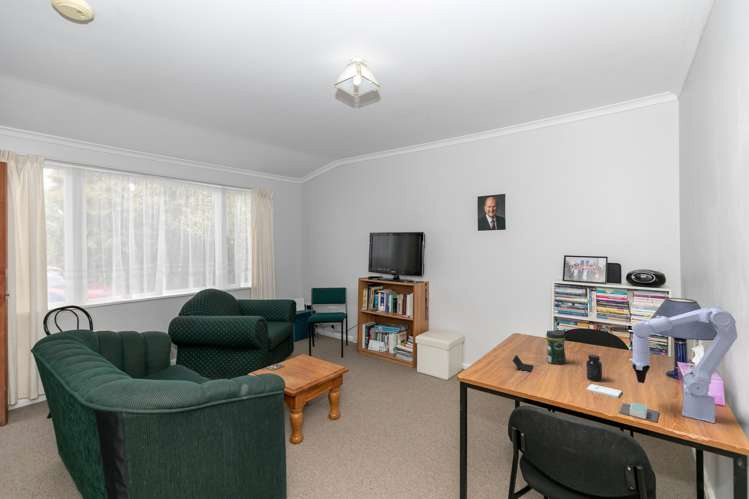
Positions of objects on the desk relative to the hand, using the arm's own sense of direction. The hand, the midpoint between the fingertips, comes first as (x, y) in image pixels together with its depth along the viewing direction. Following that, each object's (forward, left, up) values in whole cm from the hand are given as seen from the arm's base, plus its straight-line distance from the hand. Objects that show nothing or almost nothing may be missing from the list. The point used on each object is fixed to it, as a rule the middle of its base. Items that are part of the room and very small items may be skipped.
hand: (641, 382), depth 150 cm
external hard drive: (+14, -7, -11) cm, 19 cm away
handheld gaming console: (+54, -15, -10) cm, 57 cm away
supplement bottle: (+21, -21, -10) cm, 31 cm away
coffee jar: (+43, -36, -10) cm, 57 cm away
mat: (0, +9, -10) cm, 13 cm away
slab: (0, +7, -8) cm, 11 cm away
